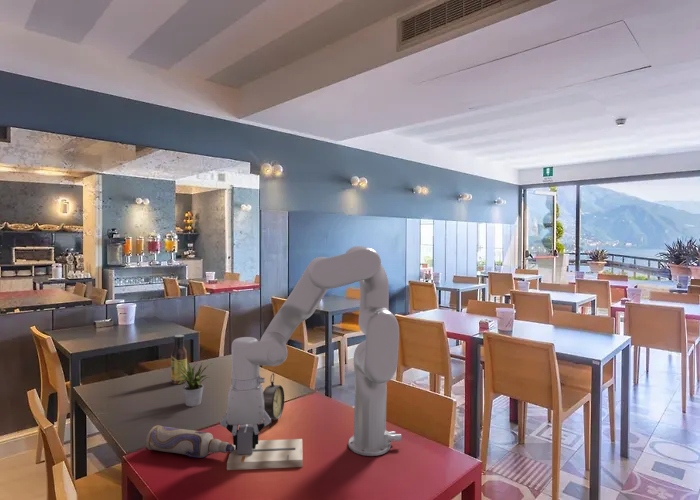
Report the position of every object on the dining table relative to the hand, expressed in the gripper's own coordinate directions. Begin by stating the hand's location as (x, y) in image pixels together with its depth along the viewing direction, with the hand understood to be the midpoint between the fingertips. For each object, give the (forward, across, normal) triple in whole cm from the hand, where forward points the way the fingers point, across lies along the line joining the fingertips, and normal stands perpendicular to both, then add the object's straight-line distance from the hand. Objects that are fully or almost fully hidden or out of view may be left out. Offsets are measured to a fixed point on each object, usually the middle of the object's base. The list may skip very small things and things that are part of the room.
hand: (245, 446), depth 122 cm
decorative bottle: (+3, +16, -3) cm, 17 cm away
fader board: (+3, -6, 0) cm, 7 cm away
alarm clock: (+4, -6, -24) cm, 25 cm away
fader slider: (+1, 0, 0) cm, 1 cm away
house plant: (+3, +25, -41) cm, 48 cm away
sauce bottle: (+3, +35, -65) cm, 74 cm away
